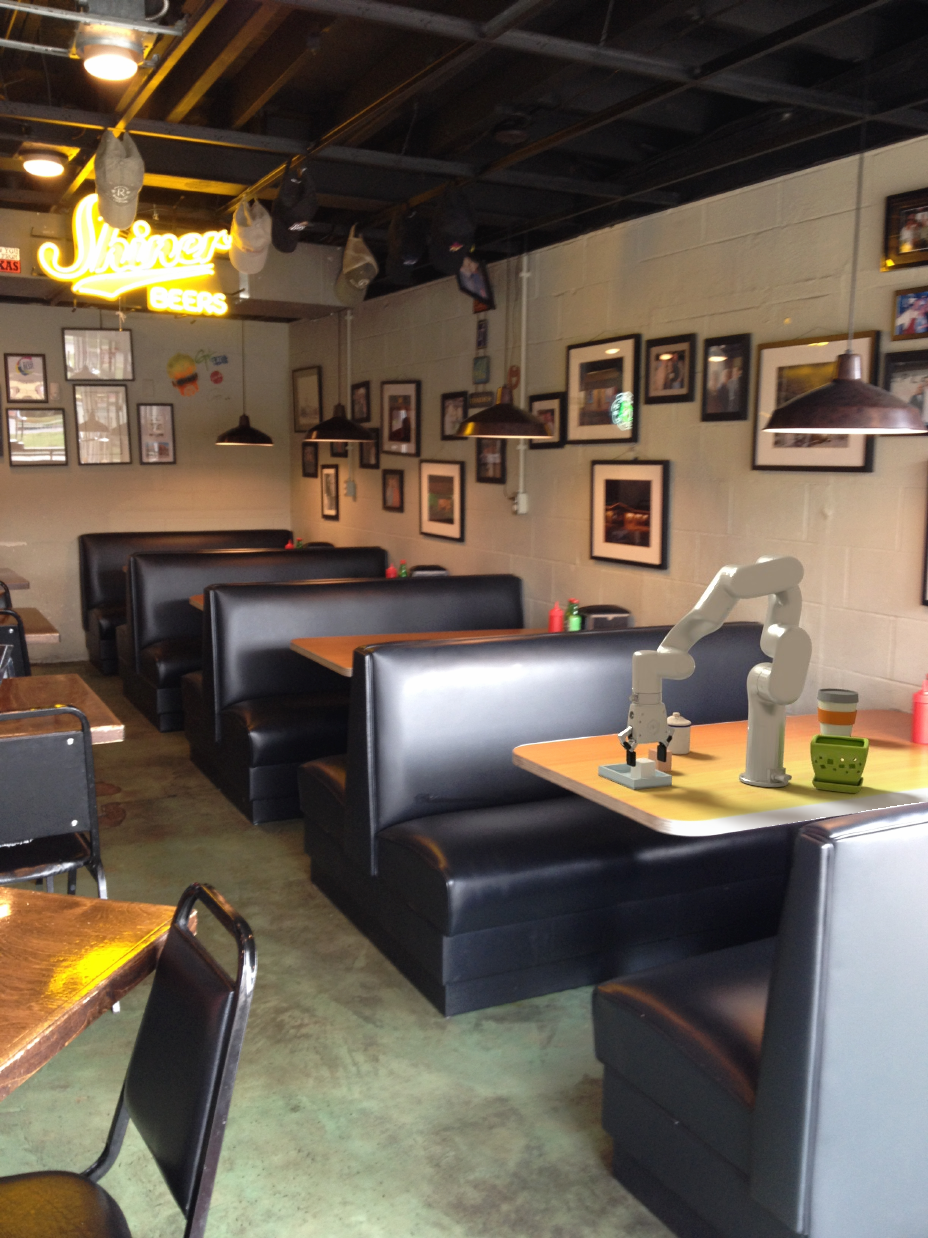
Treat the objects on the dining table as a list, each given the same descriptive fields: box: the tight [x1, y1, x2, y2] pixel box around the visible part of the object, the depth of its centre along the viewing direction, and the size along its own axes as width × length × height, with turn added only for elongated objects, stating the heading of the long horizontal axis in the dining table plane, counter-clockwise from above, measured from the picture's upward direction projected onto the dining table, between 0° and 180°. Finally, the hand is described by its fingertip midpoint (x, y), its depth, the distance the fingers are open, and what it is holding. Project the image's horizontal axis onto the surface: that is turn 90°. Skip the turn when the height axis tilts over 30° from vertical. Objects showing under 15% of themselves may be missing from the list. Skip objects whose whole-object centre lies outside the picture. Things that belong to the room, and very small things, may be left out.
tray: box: [597, 762, 673, 791], centre depth 267 cm, size 16×12×3 cm
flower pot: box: [809, 733, 870, 794], centre depth 264 cm, size 14×14×13 cm
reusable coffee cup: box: [816, 687, 860, 737], centre depth 328 cm, size 13×13×15 cm
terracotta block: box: [647, 747, 673, 773], centre depth 280 cm, size 4×4×6 cm
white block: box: [630, 757, 656, 779], centre depth 264 cm, size 4×4×6 cm
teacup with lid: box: [667, 712, 692, 756], centre depth 303 cm, size 12×9×12 cm
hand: (646, 763), depth 264 cm, fingers open, 9 cm apart
